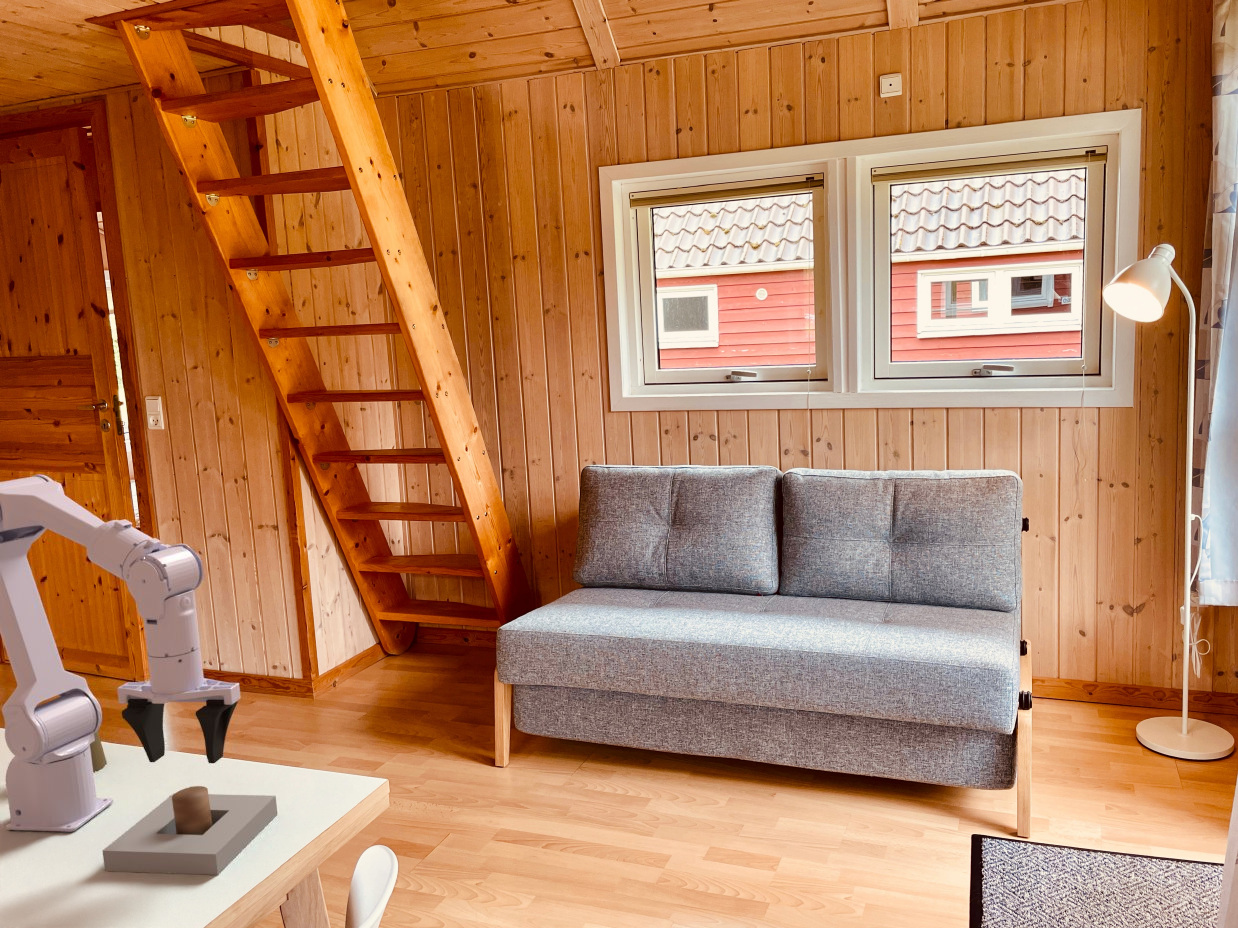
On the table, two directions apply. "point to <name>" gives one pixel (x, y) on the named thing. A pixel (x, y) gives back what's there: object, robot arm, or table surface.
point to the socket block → (191, 837)
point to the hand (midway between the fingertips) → (186, 759)
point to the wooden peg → (192, 811)
